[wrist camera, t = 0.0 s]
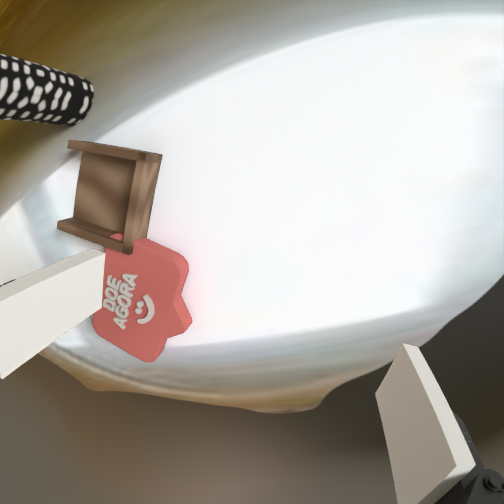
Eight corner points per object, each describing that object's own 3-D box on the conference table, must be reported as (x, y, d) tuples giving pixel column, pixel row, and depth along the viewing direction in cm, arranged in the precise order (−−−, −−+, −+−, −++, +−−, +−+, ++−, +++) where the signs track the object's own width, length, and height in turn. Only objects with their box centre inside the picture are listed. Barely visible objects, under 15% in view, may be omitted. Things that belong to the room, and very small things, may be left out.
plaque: (168, 377, 43) (88, 332, 44) (177, 364, 46) (101, 322, 47) (204, 275, 38) (107, 229, 39) (212, 267, 42) (121, 225, 42)
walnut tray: (87, 141, 41) (68, 139, 36) (162, 154, 39) (146, 152, 35) (75, 223, 44) (57, 228, 40) (145, 247, 43) (129, 255, 39)
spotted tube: (63, 135, 41) (-34, 130, 22) (54, 95, 40) (-35, 80, 21) (98, 109, 39) (-3, 89, 20) (88, 68, 38) (-3, 38, 19)
